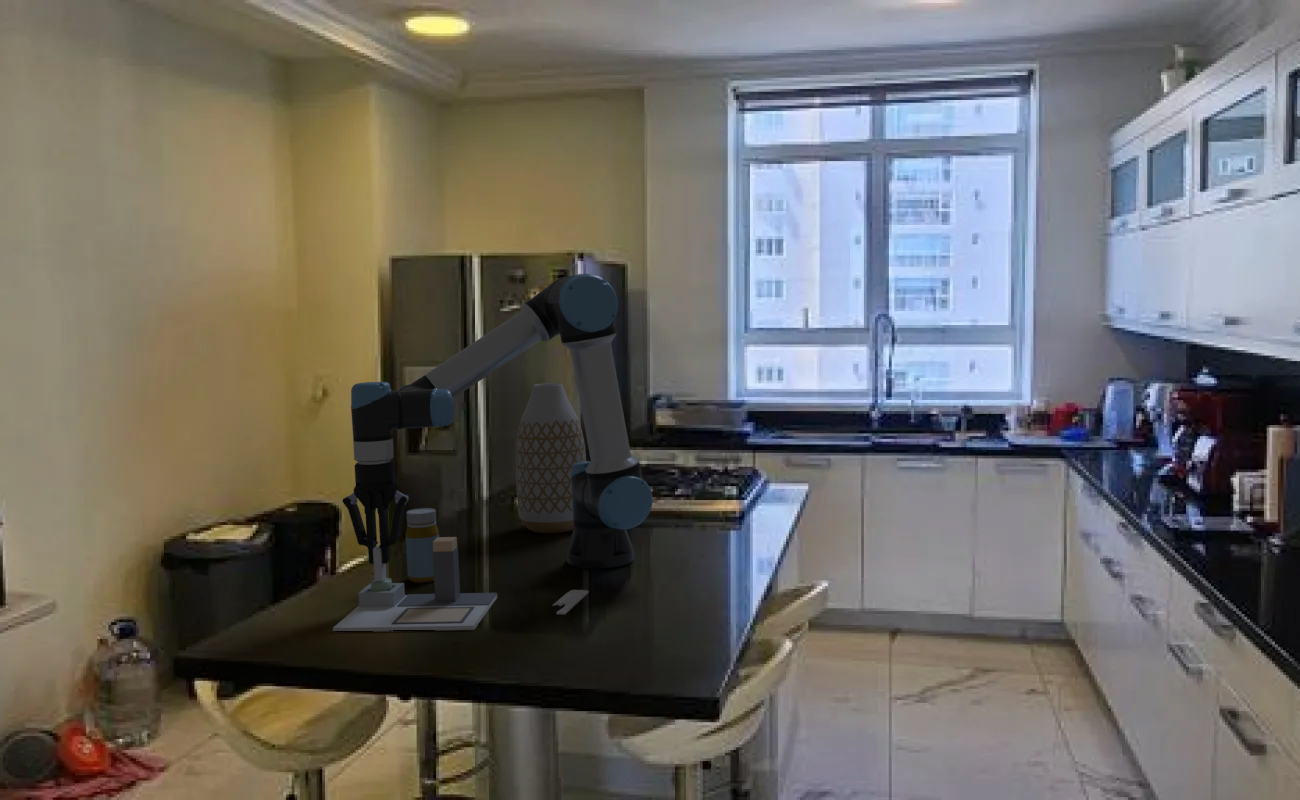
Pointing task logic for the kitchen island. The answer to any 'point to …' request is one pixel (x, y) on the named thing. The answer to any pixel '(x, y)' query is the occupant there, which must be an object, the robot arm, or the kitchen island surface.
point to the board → (414, 611)
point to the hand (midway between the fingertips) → (380, 579)
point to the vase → (547, 460)
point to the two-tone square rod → (446, 569)
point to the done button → (381, 585)
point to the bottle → (421, 544)
